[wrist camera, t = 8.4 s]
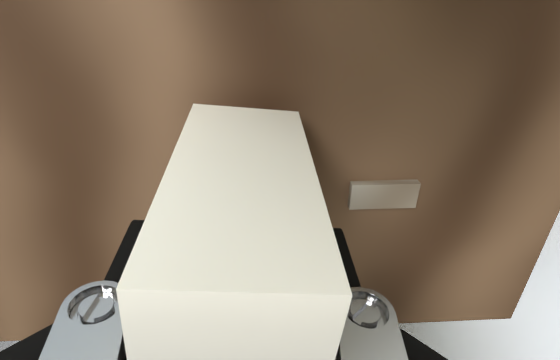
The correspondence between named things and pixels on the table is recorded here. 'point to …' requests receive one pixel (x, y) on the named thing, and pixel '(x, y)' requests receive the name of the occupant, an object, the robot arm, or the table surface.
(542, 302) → the table surface
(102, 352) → the robot arm
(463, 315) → the flat brown board
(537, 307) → the table surface
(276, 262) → the cream cuboid brick
